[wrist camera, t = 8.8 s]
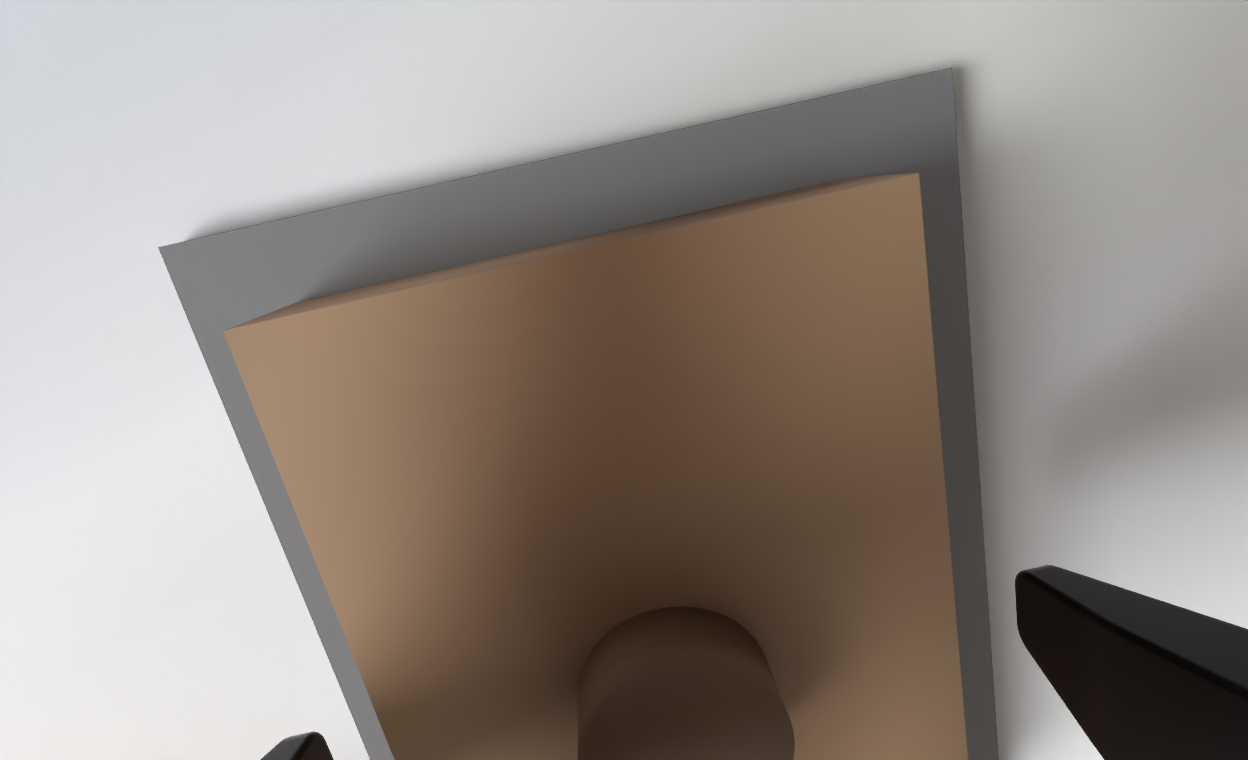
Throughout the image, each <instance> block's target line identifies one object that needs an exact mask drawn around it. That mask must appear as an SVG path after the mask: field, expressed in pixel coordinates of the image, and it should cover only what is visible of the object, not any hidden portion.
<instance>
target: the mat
mask: <svg viewBox="0 0 1248 760" xmlns="http://www.w3.org/2000/svg"><path fill="white" fill-rule="evenodd" d="M911 173H919V180H920V192H921V204H922V216H923V228H924V240H925V251H926V263H927V275H928V287H929V299H930V311H931V323H932V335H933V347H934V359H935V371H936V383H937V395H938V407H939V418H940V430H941V442H942V454H943V466H944V478H945V490H946V502H947V514H948V526H949V538H950V550H951V562H952V574H953V585H954V597H955V609H956V621H957V633H958V645H959V657H960V669H961V681H962V693H963V705H964V717H965V729H966V741H967V752H968V760H999V759H998V744H997V729H996V714H995V700H994V685H993V670H992V655H991V640H990V625H989V610H988V596H987V581H986V566H985V551H984V536H983V521H982V506H981V492H980V477H979V462H978V447H977V432H976V417H975V402H974V388H973V373H972V358H971V343H970V328H969V313H968V298H967V284H966V269H965V254H964V239H963V224H962V209H961V194H960V180H959V165H958V150H957V135H956V120H955V105H954V90H953V76H952V68H948V69H944V70H939V71H935V72H931V73H926V74H922V75H917V76H913V77H908V78H904V79H900V80H895V81H891V82H886V83H882V84H878V85H873V86H869V87H864V88H860V89H856V90H851V91H847V92H842V93H838V94H833V95H829V96H825V97H820V98H816V99H811V100H807V101H803V102H798V103H794V104H789V105H785V106H780V107H776V108H772V109H767V110H763V111H758V112H754V113H750V114H745V115H741V116H736V117H732V118H727V119H723V120H719V121H714V122H710V123H705V124H701V125H697V126H692V127H688V128H683V129H679V130H675V131H670V132H666V133H661V134H657V135H652V136H648V137H644V138H639V139H635V140H630V141H626V142H622V143H617V144H613V145H608V146H604V147H599V148H595V149H591V150H586V151H582V152H577V153H573V154H569V155H564V156H560V157H555V158H551V159H546V160H542V161H538V162H533V163H529V164H524V165H520V166H516V167H511V168H507V169H502V170H498V171H494V172H489V173H485V174H480V175H476V176H471V177H467V178H463V179H458V180H454V181H449V182H445V183H441V184H436V185H432V186H427V187H423V188H418V189H414V190H410V191H405V192H401V193H396V194H392V195H388V196H383V197H379V198H374V199H370V200H365V201H361V202H357V203H352V204H348V205H343V206H339V207H335V208H330V209H326V210H321V211H317V212H313V213H308V214H304V215H299V216H295V217H290V218H286V219H282V220H277V221H273V222H268V223H264V224H260V225H255V226H251V227H246V228H242V229H237V230H233V231H229V232H224V233H220V234H215V235H211V236H207V237H202V238H198V239H193V240H189V241H184V242H180V243H176V244H171V245H167V246H162V247H158V248H159V250H160V253H161V255H162V258H163V260H164V262H165V265H166V267H167V270H168V272H169V275H170V277H171V279H172V282H173V284H174V287H175V289H176V291H177V294H178V296H179V299H180V301H181V303H182V306H183V308H184V311H185V313H186V316H187V318H188V320H189V323H190V325H191V328H192V330H193V332H194V335H195V337H196V340H197V342H198V345H199V347H200V349H201V352H202V354H203V357H204V359H205V361H206V364H207V366H208V369H209V371H210V374H211V376H212V378H213V381H214V383H215V386H216V388H217V390H218V393H219V395H220V398H221V400H222V403H223V405H224V407H225V410H226V412H227V415H228V417H229V419H230V422H231V424H232V427H233V429H234V431H235V434H236V436H237V439H238V441H239V444H240V446H241V448H242V451H243V453H244V456H245V458H246V460H247V463H248V465H249V468H250V470H251V473H252V475H253V477H254V480H255V482H256V485H257V487H258V489H259V492H260V494H261V497H262V499H263V502H264V504H265V506H266V509H267V511H268V514H269V516H270V518H271V521H272V523H273V526H274V528H275V531H276V533H277V535H278V538H279V540H280V543H281V545H282V547H283V550H284V552H285V555H286V557H287V559H288V562H289V564H290V567H291V569H292V572H293V574H294V576H295V579H296V581H297V584H298V586H299V588H300V591H301V593H302V596H303V598H304V601H305V603H306V605H307V608H308V610H309V613H310V615H311V617H312V620H313V622H314V625H315V627H316V630H317V632H318V634H319V637H320V639H321V642H322V644H323V646H324V649H325V651H326V654H327V656H328V659H329V661H330V663H331V666H332V668H333V671H334V673H335V675H336V678H337V680H338V683H339V685H340V687H341V690H342V692H343V695H344V697H345V700H346V702H347V704H348V707H349V709H350V712H351V714H352V716H353V719H354V721H355V724H356V726H357V729H358V731H359V733H360V736H361V738H362V741H363V743H364V745H365V748H366V750H367V753H368V755H369V758H370V760H394V757H393V755H392V752H391V750H390V747H389V745H388V742H387V740H386V737H385V735H384V732H383V730H382V727H381V725H380V722H379V720H378V717H377V715H376V712H375V710H374V707H373V705H372V702H371V700H370V698H369V695H368V693H367V690H366V688H365V685H364V683H363V680H362V678H361V675H360V673H359V670H358V668H357V665H356V663H355V660H354V658H353V655H352V653H351V650H350V648H349V645H348V643H347V640H346V638H345V635H344V633H343V630H342V628H341V625H340V623H339V620H338V618H337V615H336V613H335V610H334V608H333V605H332V603H331V600H330V598H329V595H328V593H327V590H326V588H325V585H324V583H323V580H322V578H321V575H320V573H319V570H318V568H317V565H316V563H315V560H314V558H313V555H312V553H311V550H310V548H309V545H308V543H307V540H306V538H305V535H304V533H303V530H302V528H301V525H300V523H299V520H298V518H297V515H296V513H295V510H294V508H293V505H292V503H291V500H290V498H289V495H288V493H287V490H286V488H285V485H284V483H283V480H282V478H281V475H280V473H279V470H278V468H277V465H276V463H275V460H274V458H273V455H272V453H271V450H270V448H269V445H268V443H267V440H266V438H265V435H264V433H263V430H262V428H261V425H260V423H259V420H258V418H257V415H256V413H255V410H254V408H253V405H252V403H251V400H250V398H249V395H248V393H247V390H246V388H245V385H244V383H243V380H242V378H241V375H240V373H239V370H238V368H237V365H236V363H235V360H234V358H233V355H232V353H231V350H230V348H229V345H228V343H227V340H226V338H225V335H224V333H223V330H226V329H228V328H231V327H234V326H236V325H239V324H241V323H244V322H247V321H249V320H252V319H254V318H257V317H260V316H262V315H265V314H268V313H270V312H273V311H275V310H278V309H281V308H283V307H286V306H288V305H291V304H294V303H296V302H300V301H305V300H309V299H314V298H318V297H322V296H327V295H331V294H336V293H340V292H344V291H349V290H353V289H358V288H362V287H367V286H371V285H375V284H380V283H384V282H389V281H393V280H397V279H402V278H406V277H411V276H415V275H420V274H424V273H428V272H433V271H437V270H442V269H446V268H450V267H455V266H459V265H464V264H468V263H473V262H477V261H481V260H486V259H490V258H495V257H499V256H503V255H508V254H512V253H517V252H521V251H526V250H530V249H534V248H539V247H543V246H548V245H552V244H556V243H561V242H565V241H570V240H574V239H579V238H583V237H587V236H592V235H596V234H601V233H605V232H609V231H614V230H618V229H623V228H627V227H632V226H636V225H640V224H645V223H649V222H654V221H658V220H662V219H667V218H671V217H676V216H680V215H685V214H689V213H693V212H698V211H702V210H707V209H711V208H715V207H720V206H724V205H729V204H733V203H738V202H742V201H746V200H751V199H755V198H760V197H764V196H768V195H773V194H777V193H782V192H786V191H791V190H795V189H799V188H804V187H808V186H813V185H817V184H821V183H826V182H830V181H835V180H839V179H844V178H848V177H862V176H878V175H895V174H911Z"/></svg>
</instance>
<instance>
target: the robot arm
mask: <svg viewBox="0 0 1248 760" xmlns="http://www.w3.org/2000/svg"><path fill="white" fill-rule="evenodd" d="M1015 591H1016V610H1017V626H1018V631H1019V634H1020V637H1021V639H1022V641H1023V643H1024V645H1025V647H1026V648H1027V650H1028V651H1029V653H1030V654H1031V655H1032V657H1033V658H1034V660H1035V661H1036V663H1037V664H1038V666H1039V667H1040V668H1041V670H1042V671H1043V673H1044V674H1045V676H1046V677H1047V679H1048V680H1049V681H1050V683H1051V684H1052V686H1053V687H1054V689H1055V690H1056V692H1057V693H1058V694H1059V696H1060V697H1061V699H1062V700H1063V702H1064V703H1065V705H1066V706H1067V707H1068V709H1069V710H1070V712H1071V713H1072V715H1073V716H1074V718H1075V719H1076V720H1077V722H1078V723H1079V725H1080V726H1081V728H1082V729H1083V731H1084V732H1085V733H1086V735H1087V736H1088V738H1089V739H1090V741H1091V742H1092V743H1093V745H1094V746H1095V748H1096V749H1097V750H1098V752H1099V753H1100V754H1101V756H1102V757H1103V758H1104V760H1248V629H1246V628H1243V627H1240V626H1236V625H1233V624H1230V623H1227V622H1224V621H1221V620H1218V619H1215V618H1212V617H1209V616H1206V615H1203V614H1200V613H1197V612H1194V611H1191V610H1188V609H1185V608H1181V607H1178V606H1175V605H1172V604H1169V603H1166V602H1163V601H1160V600H1157V599H1154V598H1151V597H1148V596H1145V595H1142V594H1139V593H1136V592H1133V591H1130V590H1126V589H1123V588H1120V587H1117V586H1114V585H1111V584H1108V583H1105V582H1102V581H1099V580H1096V579H1093V578H1090V577H1087V576H1084V575H1081V574H1078V573H1075V572H1071V571H1068V570H1065V569H1062V568H1059V567H1056V566H1052V565H1046V566H1041V567H1037V568H1032V569H1028V570H1023V571H1021V572H1020V573H1018V575H1017V576H1016V579H1015ZM261 760H333V757H332V755H331V753H330V750H329V748H328V746H327V743H326V741H325V739H324V737H323V736H322V735H321V734H320V733H318V732H309V733H305V734H300V735H296V736H291V737H288V738H286V739H284V740H282V741H281V742H280V743H279V744H277V745H276V746H275V747H274V748H273V749H272V750H271V751H270V752H269V753H267V754H266V755H265V756H264V757H263V758H262V759H261Z"/></svg>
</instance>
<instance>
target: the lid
mask: <svg viewBox="0 0 1248 760" xmlns="http://www.w3.org/2000/svg"><path fill="white" fill-rule="evenodd" d="M223 333H224V335H225V338H226V340H227V343H228V345H229V348H230V350H231V353H232V355H233V358H234V360H235V363H236V365H237V368H238V370H239V373H240V375H241V378H242V380H243V383H244V385H245V388H246V390H247V393H248V395H249V398H250V400H251V403H252V405H253V408H254V410H255V413H256V415H257V418H258V420H259V423H260V425H261V428H262V430H263V433H264V435H265V438H266V440H267V443H268V445H269V448H270V450H271V453H272V455H273V458H274V460H275V463H276V465H277V468H278V470H279V473H280V475H281V478H282V480H283V483H284V485H285V488H286V490H287V493H288V495H289V498H290V500H291V503H292V505H293V508H294V510H295V513H296V515H297V518H298V520H299V523H300V525H301V528H302V530H303V533H304V535H305V538H306V540H307V543H308V545H309V548H310V550H311V553H312V555H313V558H314V560H315V563H316V565H317V568H318V570H319V573H320V575H321V578H322V580H323V583H324V585H325V588H326V590H327V593H328V595H329V598H330V600H331V603H332V605H333V608H334V610H335V613H336V615H337V618H338V620H339V623H340V625H341V628H342V630H343V633H344V635H345V638H346V640H347V643H348V645H349V648H350V650H351V653H352V655H353V658H354V660H355V663H356V665H357V668H358V670H359V673H360V675H361V678H362V680H363V683H364V685H365V688H366V690H367V693H368V695H369V698H370V700H371V702H372V705H373V707H374V710H375V712H376V715H377V717H378V720H379V722H380V725H381V727H382V730H383V732H384V735H385V737H386V740H387V742H388V745H389V747H390V750H391V752H392V755H393V757H394V760H968V752H967V741H966V729H965V717H964V705H963V693H962V681H961V669H960V657H959V645H958V633H957V621H956V609H955V597H954V585H953V574H952V562H951V550H950V538H949V526H948V514H947V502H946V490H945V478H944V466H943V454H942V442H941V430H940V418H939V407H938V395H937V383H936V371H935V359H934V347H933V335H932V323H931V311H930V299H929V287H928V275H927V263H926V251H925V240H924V228H923V216H922V204H921V192H920V180H919V173H911V174H895V175H878V176H862V177H848V178H844V179H839V180H835V181H830V182H826V183H821V184H817V185H813V186H808V187H804V188H799V189H795V190H791V191H786V192H782V193H777V194H773V195H768V196H764V197H760V198H755V199H751V200H746V201H742V202H738V203H733V204H729V205H724V206H720V207H715V208H711V209H707V210H702V211H698V212H693V213H689V214H685V215H680V216H676V217H671V218H667V219H662V220H658V221H654V222H649V223H645V224H640V225H636V226H632V227H627V228H623V229H618V230H614V231H609V232H605V233H601V234H596V235H592V236H587V237H583V238H579V239H574V240H570V241H565V242H561V243H556V244H552V245H548V246H543V247H539V248H534V249H530V250H526V251H521V252H517V253H512V254H508V255H503V256H499V257H495V258H490V259H486V260H481V261H477V262H473V263H468V264H464V265H459V266H455V267H450V268H446V269H442V270H437V271H433V272H428V273H424V274H420V275H415V276H411V277H406V278H402V279H397V280H393V281H389V282H384V283H380V284H375V285H371V286H367V287H362V288H358V289H353V290H349V291H344V292H340V293H336V294H331V295H327V296H322V297H318V298H314V299H309V300H305V301H300V302H296V303H294V304H291V305H288V306H286V307H283V308H281V309H278V310H275V311H273V312H270V313H268V314H265V315H262V316H260V317H257V318H254V319H252V320H249V321H247V322H244V323H241V324H239V325H236V326H234V327H231V328H228V329H226V330H223Z"/></svg>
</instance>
